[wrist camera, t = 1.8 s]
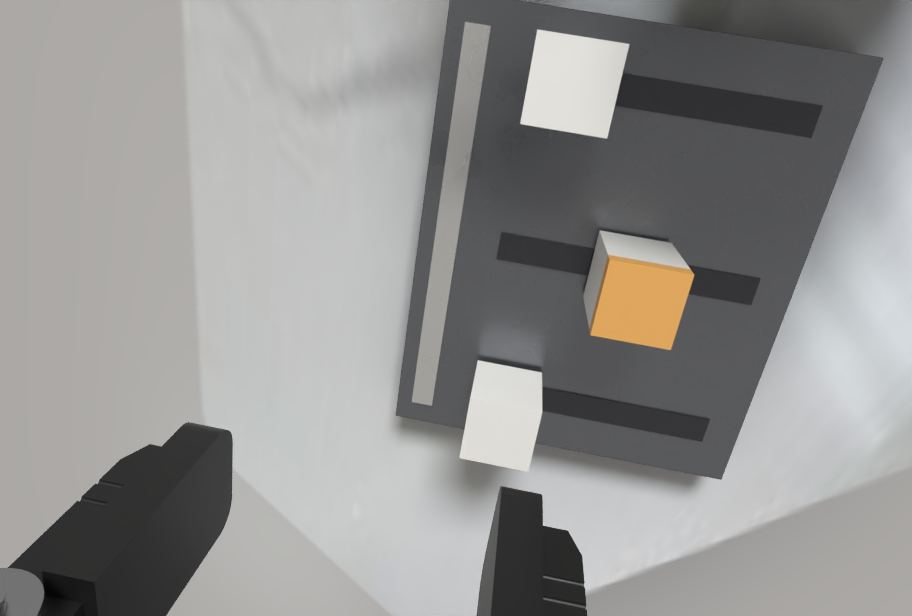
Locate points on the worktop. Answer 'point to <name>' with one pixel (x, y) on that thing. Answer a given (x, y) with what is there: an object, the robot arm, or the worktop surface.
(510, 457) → the breaker far
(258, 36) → the worktop surface
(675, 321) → the block
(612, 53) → the block
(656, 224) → the breaker panel
